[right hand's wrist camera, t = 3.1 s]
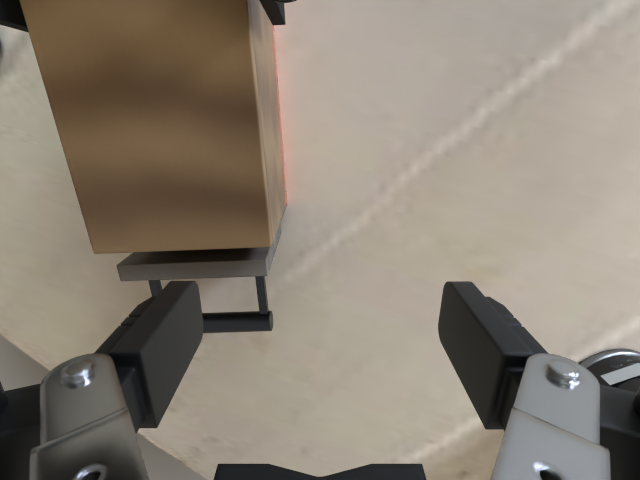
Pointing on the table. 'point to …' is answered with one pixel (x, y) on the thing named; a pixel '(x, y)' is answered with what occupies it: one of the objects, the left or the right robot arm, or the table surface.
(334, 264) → the table surface
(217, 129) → the cabinet
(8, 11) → the left robot arm
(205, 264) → the drawer
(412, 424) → the table surface
